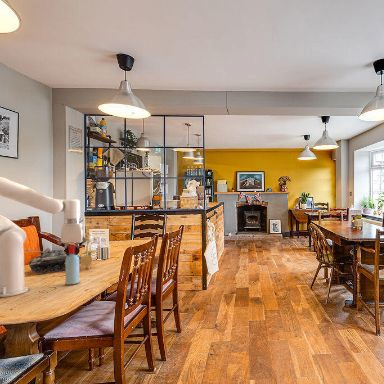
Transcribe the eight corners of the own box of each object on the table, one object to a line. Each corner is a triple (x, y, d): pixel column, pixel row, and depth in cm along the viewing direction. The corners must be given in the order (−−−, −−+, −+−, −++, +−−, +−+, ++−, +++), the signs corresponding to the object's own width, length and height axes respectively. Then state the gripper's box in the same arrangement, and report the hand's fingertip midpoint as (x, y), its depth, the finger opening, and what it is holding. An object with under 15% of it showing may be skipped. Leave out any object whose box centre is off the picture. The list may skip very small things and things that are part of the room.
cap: (77, 251, 159) (77, 245, 159) (75, 253, 155) (75, 246, 155) (69, 252, 158) (69, 245, 158) (67, 253, 154) (67, 247, 154)
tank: (24, 271, 180) (24, 248, 180) (80, 263, 201) (79, 242, 201) (25, 277, 168) (25, 252, 168) (85, 267, 189) (84, 245, 189)
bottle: (70, 285, 152) (70, 248, 152) (62, 283, 155) (62, 247, 155) (82, 281, 158) (81, 246, 158) (74, 280, 161) (74, 245, 161)
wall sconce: (94, 270, 182) (94, 231, 181) (77, 272, 179) (77, 232, 178) (99, 265, 195) (98, 228, 195) (83, 266, 192) (82, 229, 192)
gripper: (90, 220, 163) (90, 252, 163) (56, 221, 157) (56, 254, 157) (88, 221, 156) (88, 254, 156) (52, 222, 150) (52, 257, 150)
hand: (72, 254), depth 157 cm, fingers closed on cap, 3 cm apart
